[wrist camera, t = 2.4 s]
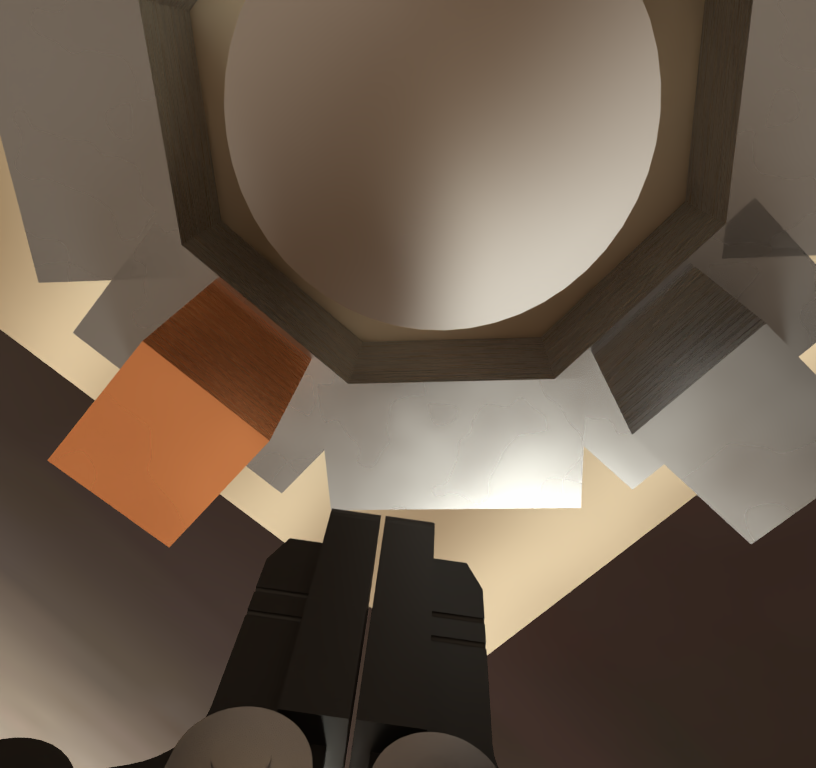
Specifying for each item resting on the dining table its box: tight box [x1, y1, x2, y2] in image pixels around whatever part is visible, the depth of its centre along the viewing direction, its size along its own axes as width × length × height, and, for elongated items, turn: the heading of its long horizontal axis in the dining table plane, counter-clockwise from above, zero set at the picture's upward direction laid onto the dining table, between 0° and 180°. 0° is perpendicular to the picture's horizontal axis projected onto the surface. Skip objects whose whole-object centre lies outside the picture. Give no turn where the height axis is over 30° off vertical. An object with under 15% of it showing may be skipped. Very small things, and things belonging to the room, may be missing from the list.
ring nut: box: [0, 0, 816, 547], centre depth 12 cm, size 16×16×6 cm
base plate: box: [0, 0, 816, 655], centre depth 13 cm, size 22×22×7 cm
